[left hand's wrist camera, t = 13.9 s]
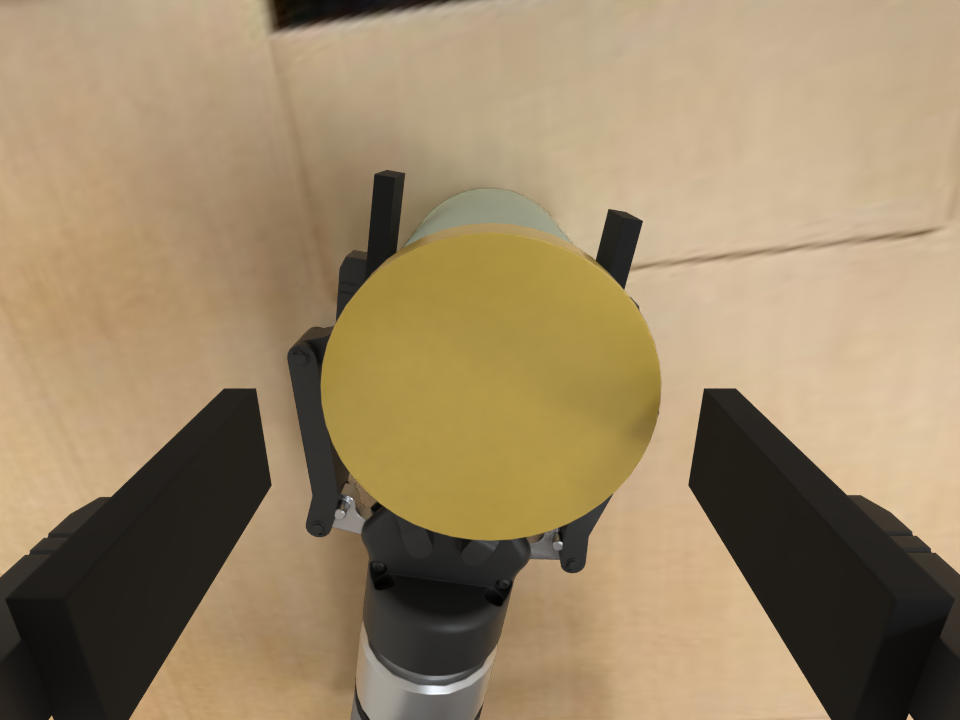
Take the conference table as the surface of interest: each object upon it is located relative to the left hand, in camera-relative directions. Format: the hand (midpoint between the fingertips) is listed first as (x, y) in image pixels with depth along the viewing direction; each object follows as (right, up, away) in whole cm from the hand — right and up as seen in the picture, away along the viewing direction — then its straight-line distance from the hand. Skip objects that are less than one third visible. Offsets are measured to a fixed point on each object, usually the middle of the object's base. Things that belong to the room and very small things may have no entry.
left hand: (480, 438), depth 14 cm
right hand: (+1, +8, +8) cm, 12 cm away
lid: (0, +1, +2) cm, 2 cm away
